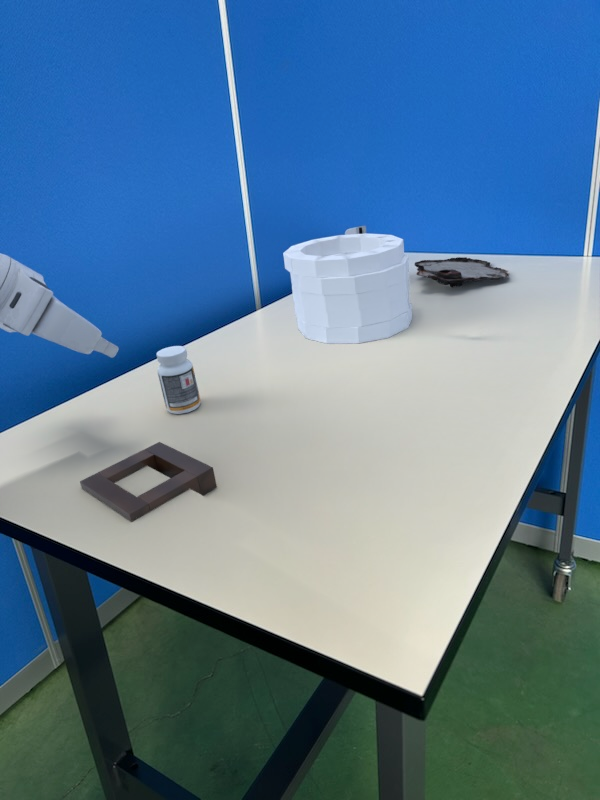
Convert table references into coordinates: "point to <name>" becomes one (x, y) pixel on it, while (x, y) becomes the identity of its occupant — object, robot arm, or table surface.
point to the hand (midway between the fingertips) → (103, 345)
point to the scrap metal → (459, 270)
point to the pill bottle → (177, 380)
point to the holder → (167, 462)
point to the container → (350, 287)
